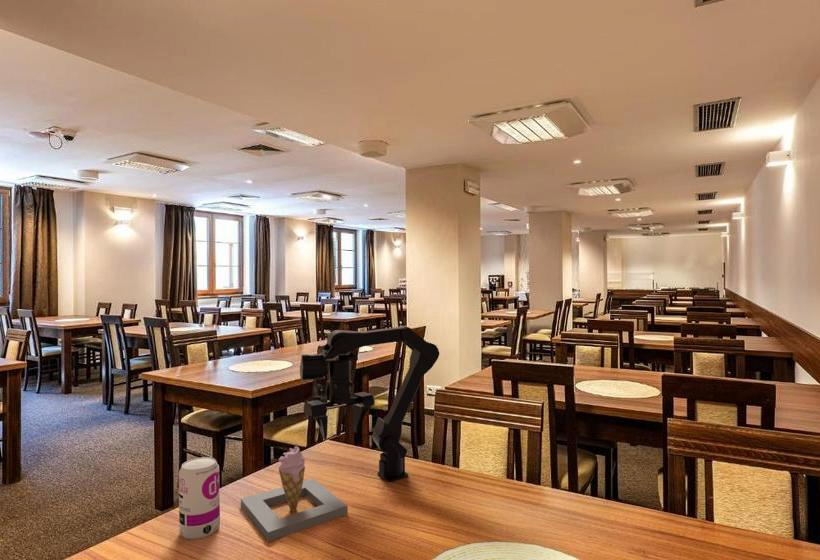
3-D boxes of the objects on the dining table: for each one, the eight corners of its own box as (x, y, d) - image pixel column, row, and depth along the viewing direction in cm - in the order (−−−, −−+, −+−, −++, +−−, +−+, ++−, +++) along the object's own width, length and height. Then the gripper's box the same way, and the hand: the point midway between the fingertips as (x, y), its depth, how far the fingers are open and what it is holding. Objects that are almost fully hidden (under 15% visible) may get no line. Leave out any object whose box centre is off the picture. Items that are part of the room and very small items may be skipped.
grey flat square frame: (313, 485, 128) (313, 478, 128) (347, 514, 113) (347, 505, 113) (240, 506, 117) (240, 498, 117) (268, 541, 102) (267, 532, 102)
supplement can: (228, 524, 109) (227, 458, 109) (201, 543, 101) (199, 472, 101) (199, 518, 112) (198, 454, 111) (171, 537, 104) (169, 468, 104)
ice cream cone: (312, 509, 115) (310, 447, 114) (290, 520, 110) (288, 455, 110) (296, 501, 119) (294, 441, 119) (274, 511, 115) (272, 448, 114)
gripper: (355, 368, 141) (355, 421, 141) (294, 377, 130) (295, 434, 130) (375, 375, 132) (376, 431, 132) (312, 384, 121) (313, 446, 121)
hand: (340, 435), depth 129 cm, fingers open, 9 cm apart
